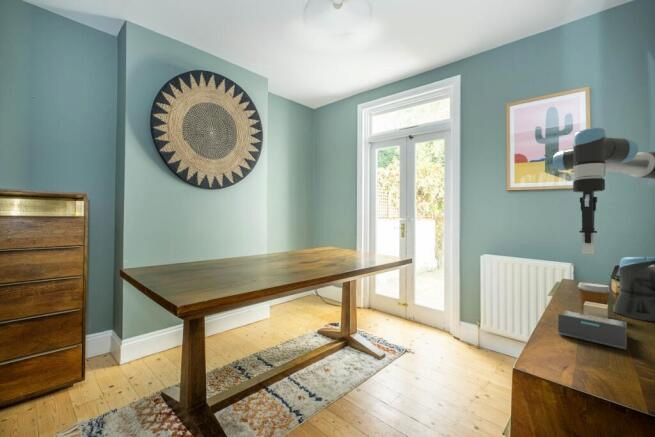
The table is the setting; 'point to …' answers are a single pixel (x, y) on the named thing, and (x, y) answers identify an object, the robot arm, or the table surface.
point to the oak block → (596, 309)
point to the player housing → (595, 318)
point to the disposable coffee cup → (593, 293)
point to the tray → (592, 330)
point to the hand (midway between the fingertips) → (588, 253)
